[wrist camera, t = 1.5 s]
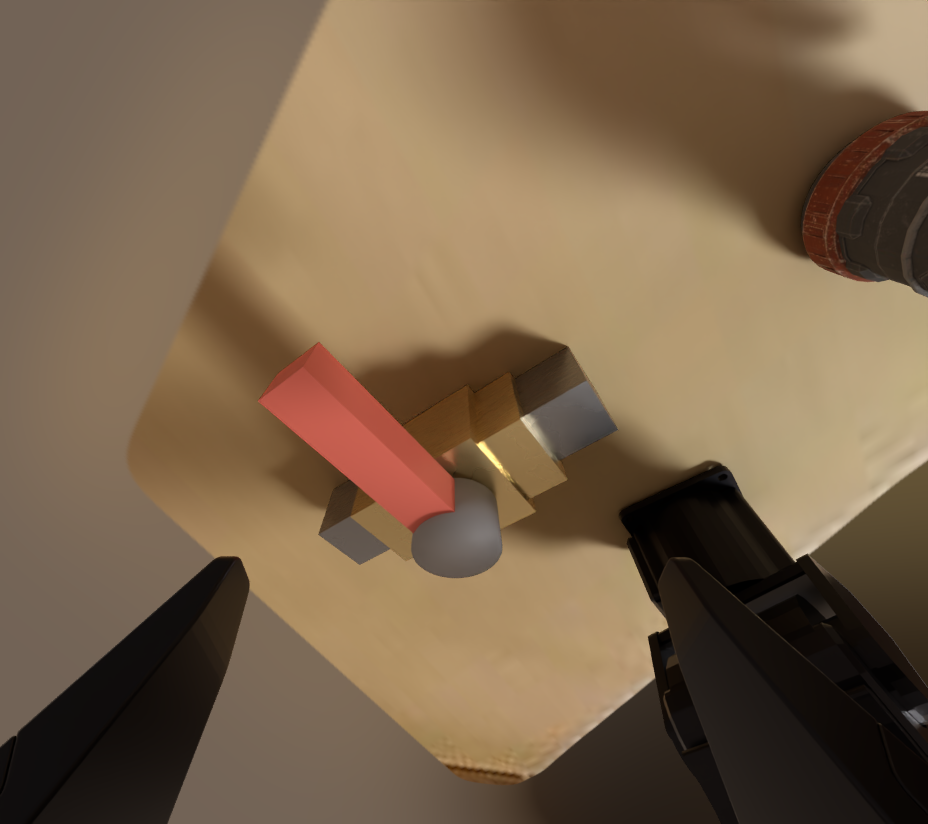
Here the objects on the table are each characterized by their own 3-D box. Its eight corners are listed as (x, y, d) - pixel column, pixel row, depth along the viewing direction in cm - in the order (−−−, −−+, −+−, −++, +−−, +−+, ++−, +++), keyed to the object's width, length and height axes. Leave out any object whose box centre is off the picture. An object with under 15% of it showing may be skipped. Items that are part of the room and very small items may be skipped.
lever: (512, 514, 19) (519, 555, 17) (448, 546, 20) (447, 588, 18) (336, 327, 14) (319, 356, 12) (263, 383, 15) (236, 419, 13)
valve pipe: (556, 328, 19) (581, 373, 15) (606, 406, 21) (637, 462, 18) (319, 478, 24) (294, 540, 20) (381, 529, 26) (370, 593, 22)
